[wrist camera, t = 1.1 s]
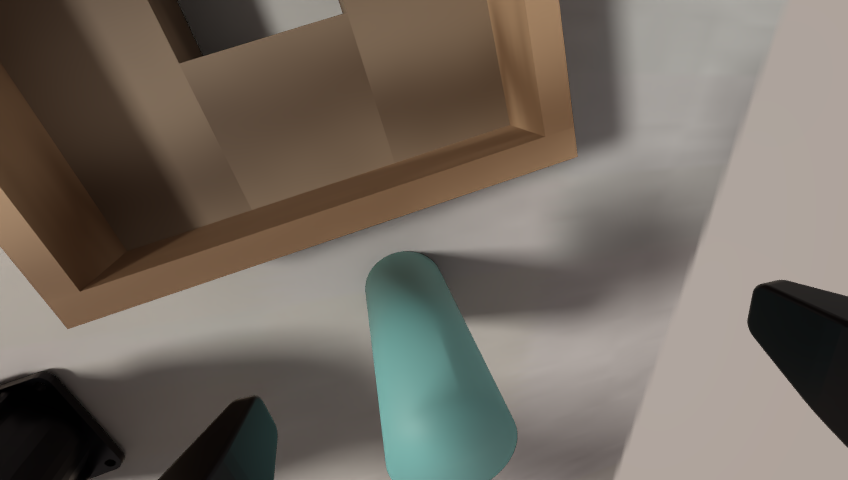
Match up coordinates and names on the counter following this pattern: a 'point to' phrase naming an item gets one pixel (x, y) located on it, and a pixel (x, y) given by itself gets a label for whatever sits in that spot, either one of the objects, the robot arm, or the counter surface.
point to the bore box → (254, 134)
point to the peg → (432, 379)
